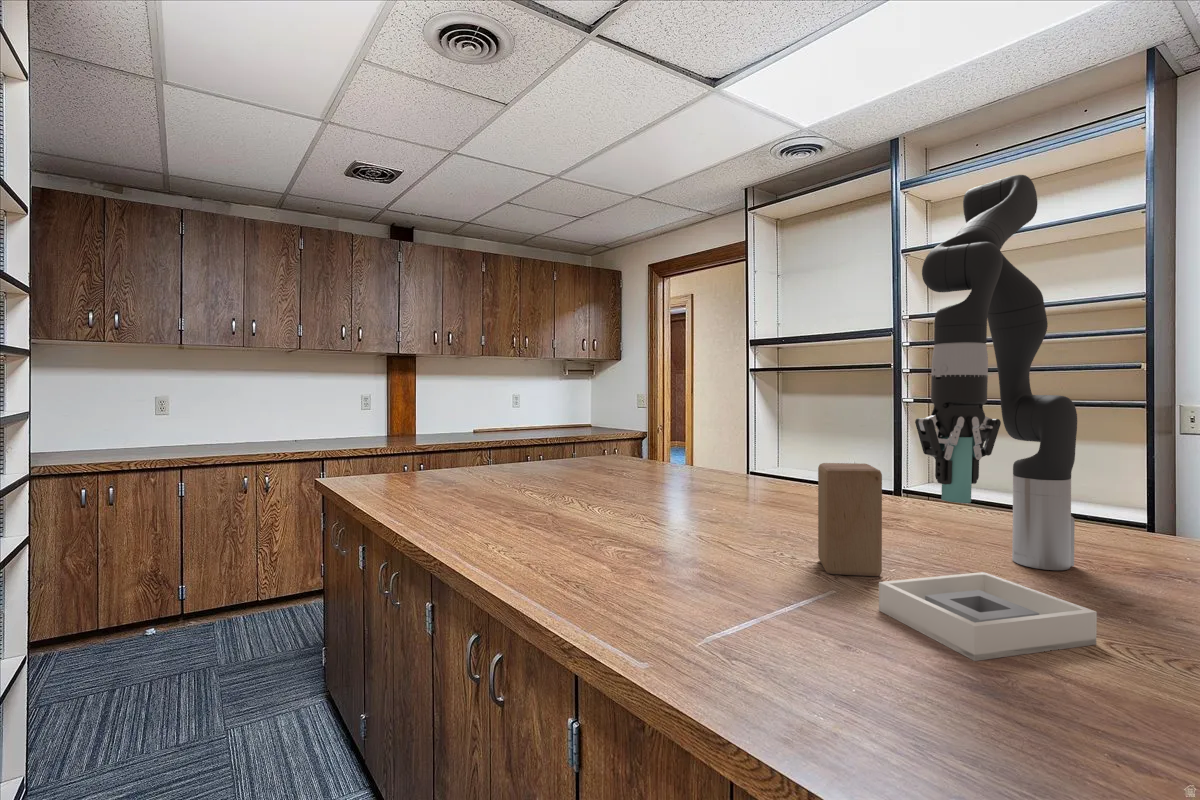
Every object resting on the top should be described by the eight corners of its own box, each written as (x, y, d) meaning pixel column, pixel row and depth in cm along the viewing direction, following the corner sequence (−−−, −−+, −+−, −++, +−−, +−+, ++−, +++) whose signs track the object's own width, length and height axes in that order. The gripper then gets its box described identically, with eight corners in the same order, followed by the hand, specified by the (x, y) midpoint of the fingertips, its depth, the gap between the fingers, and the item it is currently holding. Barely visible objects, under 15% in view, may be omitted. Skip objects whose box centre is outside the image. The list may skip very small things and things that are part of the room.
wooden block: (883, 578, 110) (883, 469, 110) (825, 575, 112) (825, 468, 112) (870, 562, 120) (870, 463, 119) (817, 560, 122) (817, 462, 121)
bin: (983, 599, 99) (983, 572, 99) (1096, 644, 82) (1096, 611, 81) (878, 610, 94) (878, 582, 94) (974, 661, 77) (974, 626, 77)
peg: (957, 498, 96) (958, 435, 96) (977, 502, 92) (978, 437, 92) (935, 498, 95) (936, 435, 95) (955, 503, 91) (956, 437, 91)
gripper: (978, 375, 98) (976, 479, 99) (902, 373, 96) (900, 480, 96) (1018, 373, 91) (1016, 486, 91) (937, 371, 88) (935, 488, 88)
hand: (956, 482), depth 94 cm, fingers closed on peg, 4 cm apart
